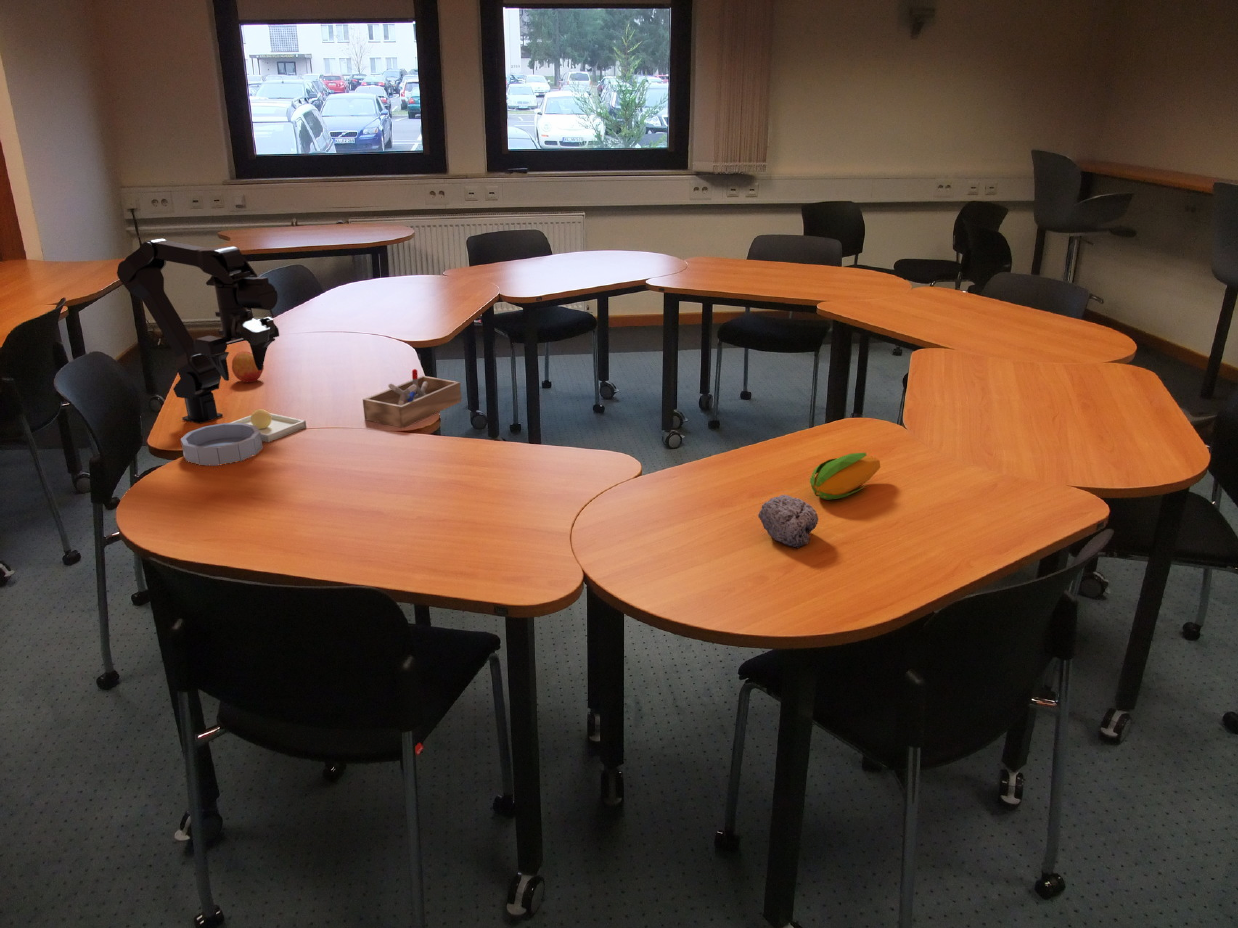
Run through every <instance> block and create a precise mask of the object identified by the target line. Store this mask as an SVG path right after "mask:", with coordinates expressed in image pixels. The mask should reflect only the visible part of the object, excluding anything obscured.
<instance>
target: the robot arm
mask: <svg viewBox="0 0 1238 928" xmlns="http://www.w3.org/2000/svg"><path fill="white" fill-rule="evenodd" d="M167 262H171V263H175V264H182V265H186V266H192V267H196V268H198V269H200V270H201V271H202V272H203V273H205V274H208V275H209V276H210V278H209V279H208V280H207V281H206V283H205V285H206V286H209V287H210V286H211V287H212V286H213V287H214V289H215V290H214V291H215V296H216V301H217V306H218V307H217V309H218V310H217V311H214V313H215V317H219V319H220V320H219V321H220V325H221V329H218V331H217V332H218V335H220V336H221V337H220V336H213V335H206V336H202V337H198V338H195V340H194V339H193V337H192V336H191V334H190V332H189V330H188V329H187V327H186V325H185V324H184V321H182V318H181V317H180V315H179V314H178V312H177V311H176V308H175V307H174V305H173V304H172V302H171V301H170V298H169V297H168V295H167V293H166V292H165V276H164V275H163V273H162V270H163V269H164V268H165V267H166V265H167ZM116 275H117V277H118V279H119V281H120V282H121V283H122V284H123V287H125V289H126V290H127V291H128V292H129V293H130V294H132V295H133V296H135V297H136V298H138V299H139V300H141V301H142V303H143V304H144V305H145V307H146V309H147V310H148V312H149V313H150V315H151V317H152V319H153V320H154V322H155V324H156V325H157V326H158V328H159V330H160V331H161V334H162V335H163V337H164V339H165V340H166V342H167V343H168V346H170V348H171V350H172V352H173V353H174V355H175V356H176V371H177V374H178V376H179V380H178V381H177V383H176V384H175V386H174V387H173V393H174V395H175V396H176V398H180V399H181V398H182V399H184V404H185V408H186V413H187V415H185V416H183V417H181V418H182V420H183V421H186V422H191V423H195V424H204V423H208V422H211V421H212V420H213V421H214V420H216V419H218V418H221V417H223V416H224V415H223V413H219V412H218V411H217V404H216V400H215V396H214V392H213V391H216V390H219V389H220V384H221V379H223V380H224V381H226V382H228V381H230V374H229V368H228V362H227V358H228V357H229V354H230V352H229V351H227V349H228V346H230V345H232V344H237V343H239V342H243V341H246V342H248V344H249V346H250V351H251V353H252V354H253V358H254V361H255V364H256V367H257V369H258V370H262V368H263V365H264V363H265V358H266V354H267V350H268V347H269V346H270V345H271V344H272V343H273V342H275V341H276V338H279V337H280V330H279V327H278V326H277V325H276V324H275V322H274V318H272V317H270V316H267V317H263V318H261V319H260V318H259V319H256V318H254V314H253V312H252V310H251V309H253V310H264V311H270V310H273V309H274V308H275V307H276V305H277V304H278V298H279V297H278V296H279V295H278V291H277V290H276V288H275V286H274V285H273V284H272V283H270V281H269V278H268V277H267V276H262V277H258V274H257V273H256V272H255V270H254V269H253V268H252V266H251V265H250V263H249V262H248V261H247V259H246V258H245V256H244V255H243V253H242V252H241V250H240V249H239V248H238V247H236V246H233V245H232V246H231V245H229V246H228V245H227V246H225V245H223V246H214V247H212V246H211V247H203V246H200V245H193V244H189V243H181V242H176V241H172V240H167V239H165V238H154V239H149V240H148V239H147V240H145V241H144V242H143V243H142V244H141V245H140V247H139V248H138V249H136V250H134V251H133V252H132V253H131V254H129V255H128V256H126V258H124V260H122V261H120V262H119V263H118V266H117V270H116Z"/></svg>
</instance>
